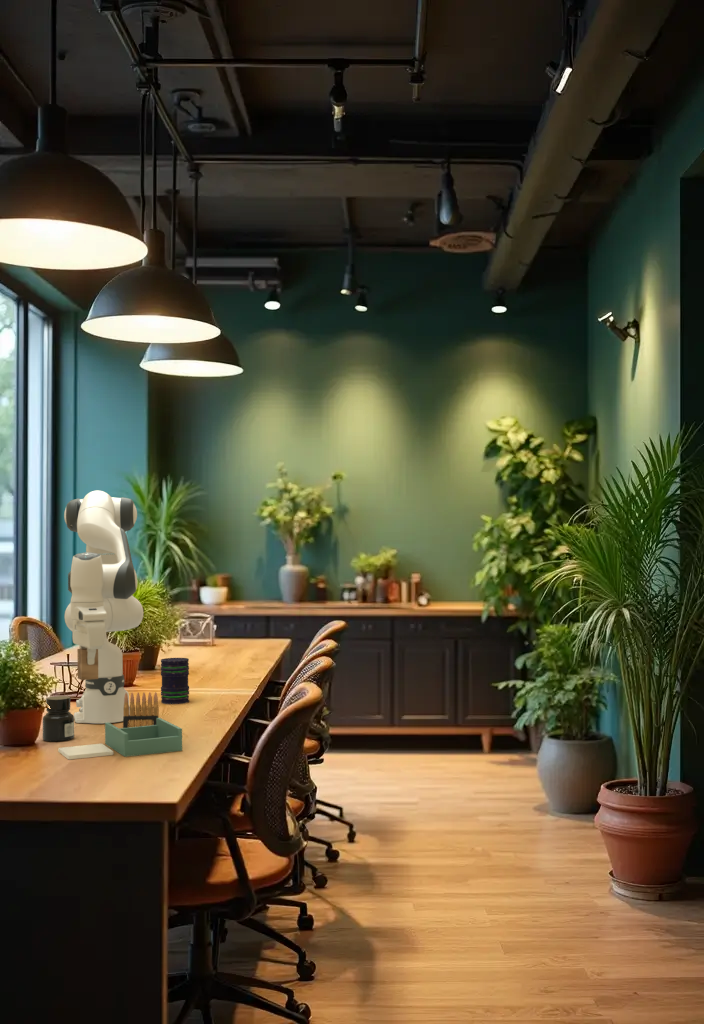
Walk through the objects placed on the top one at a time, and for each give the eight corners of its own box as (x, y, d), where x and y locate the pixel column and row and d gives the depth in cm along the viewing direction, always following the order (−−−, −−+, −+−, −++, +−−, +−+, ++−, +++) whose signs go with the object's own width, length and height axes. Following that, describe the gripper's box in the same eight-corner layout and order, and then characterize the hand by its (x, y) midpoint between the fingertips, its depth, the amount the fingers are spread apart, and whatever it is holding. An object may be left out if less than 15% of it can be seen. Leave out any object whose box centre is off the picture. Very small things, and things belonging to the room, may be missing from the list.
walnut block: (77, 678, 298) (77, 648, 298) (94, 677, 300) (93, 647, 300) (81, 680, 294) (81, 650, 294) (98, 678, 296) (98, 649, 296)
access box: (105, 743, 309) (105, 722, 309) (159, 738, 316) (159, 717, 316) (124, 756, 291) (124, 734, 291) (182, 750, 299) (182, 728, 299)
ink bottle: (74, 741, 313) (74, 699, 313) (42, 743, 311) (42, 701, 311) (73, 735, 323) (73, 694, 323) (42, 737, 320) (42, 696, 320)
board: (58, 751, 299) (58, 747, 299) (101, 747, 304) (101, 743, 304) (68, 759, 288) (68, 755, 288) (113, 754, 294) (113, 751, 294)
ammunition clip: (159, 731, 327) (159, 691, 327) (158, 732, 325) (158, 692, 325) (123, 732, 327) (123, 692, 327) (122, 733, 325) (122, 693, 325)
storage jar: (191, 699, 388) (191, 657, 388) (186, 704, 378) (186, 660, 378) (163, 699, 388) (163, 657, 388) (158, 704, 378) (157, 661, 378)
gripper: (66, 610, 305) (67, 660, 305) (85, 615, 287) (85, 667, 287) (89, 609, 308) (89, 658, 308) (108, 614, 290) (109, 666, 289)
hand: (87, 663), depth 297 cm, fingers closed on walnut block, 4 cm apart
